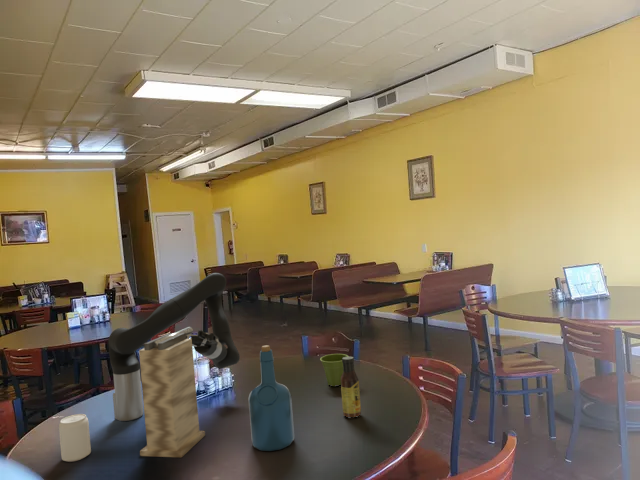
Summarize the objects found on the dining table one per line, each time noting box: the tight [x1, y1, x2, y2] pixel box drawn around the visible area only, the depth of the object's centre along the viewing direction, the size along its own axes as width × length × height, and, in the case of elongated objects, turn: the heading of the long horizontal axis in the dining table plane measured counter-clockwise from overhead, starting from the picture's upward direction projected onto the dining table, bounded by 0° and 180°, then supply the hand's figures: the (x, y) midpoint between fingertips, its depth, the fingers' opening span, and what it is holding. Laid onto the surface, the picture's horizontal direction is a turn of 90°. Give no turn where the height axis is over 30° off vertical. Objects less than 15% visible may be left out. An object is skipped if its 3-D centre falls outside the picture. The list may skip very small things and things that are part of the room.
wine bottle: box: [248, 344, 295, 452], centre depth 144 cm, size 14×13×30 cm
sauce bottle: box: [340, 356, 362, 418], centre depth 161 cm, size 6×6×20 cm
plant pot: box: [319, 353, 350, 386], centre depth 195 cm, size 12×12×11 cm
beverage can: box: [58, 413, 92, 463], centre depth 146 cm, size 8×8×12 cm
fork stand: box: [138, 332, 206, 458], centre depth 148 cm, size 14×15×34 cm
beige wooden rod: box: [154, 326, 194, 348], centre depth 153 cm, size 20×2×2 cm, turn 167°
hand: (187, 333), depth 162 cm, fingers open, 8 cm apart
